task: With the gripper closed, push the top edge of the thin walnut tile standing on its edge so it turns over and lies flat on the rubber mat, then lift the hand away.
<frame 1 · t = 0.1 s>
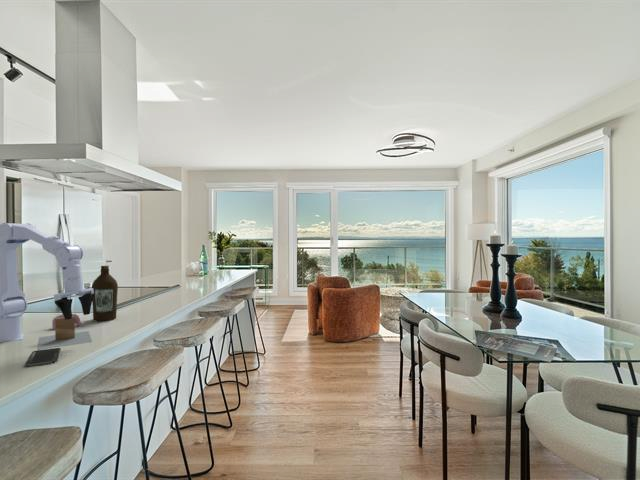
hand: (77, 316, 132), 11 cm above the counter, tool pointing down, fingers open, 7 cm apart
walnut tile: (65, 338, 139), on the counter, touching rubber mat
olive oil: (104, 319, 173), on the counter
video game controller: (66, 328, 157), on the counter
phone: (44, 359, 120), on the counter
rubber mat: (65, 340, 139), on the counter
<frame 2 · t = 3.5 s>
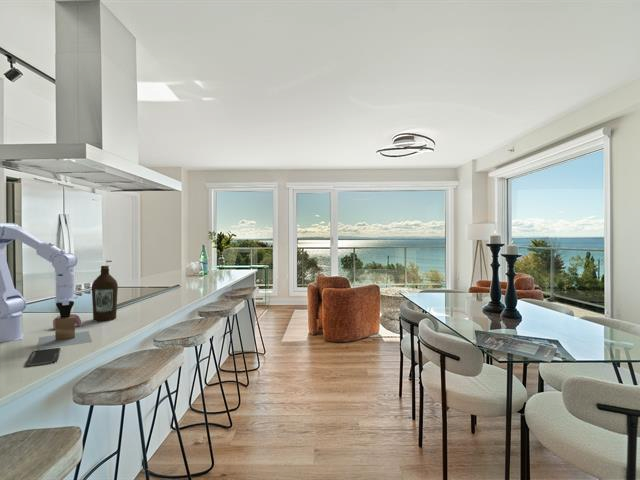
hand: (65, 321, 140), 7 cm above the counter, tool pointing down, fingers closed
walnut tile: (65, 338, 139), on the counter, tilted 6°, touching gripper, rubber mat
everything else where it was.
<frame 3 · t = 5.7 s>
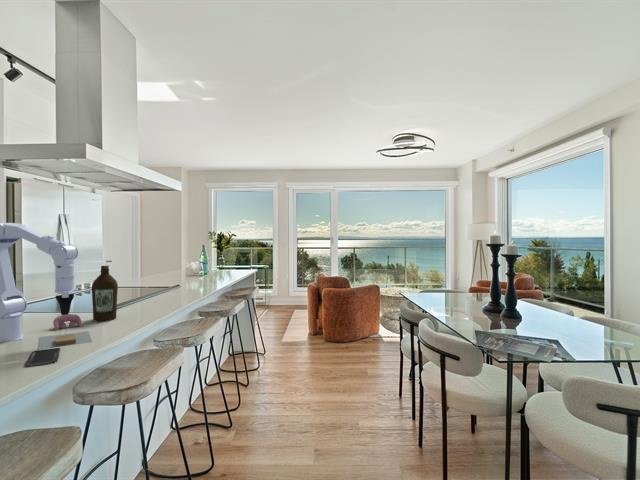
hand: (64, 314, 136), 10 cm above the counter, tool pointing down, fingers closed
walnut tile: (65, 337, 139), point 1 cm above the counter, tilted 90°, touching rubber mat
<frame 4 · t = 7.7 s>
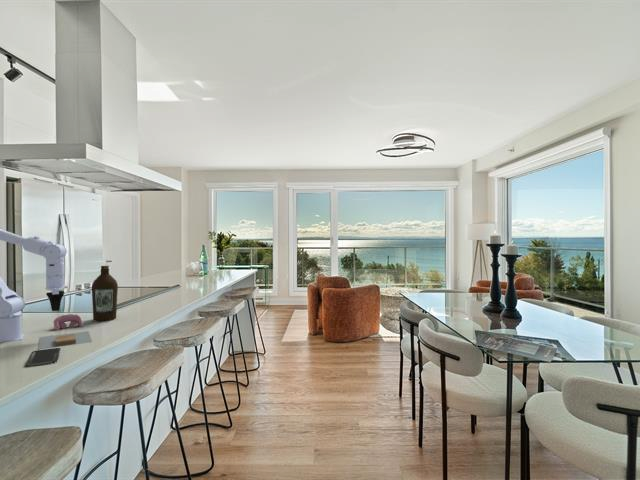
hand: (55, 310, 142), 10 cm above the counter, tool pointing down, fingers closed
at the end: walnut tile tilted 90°; walnut tile inside the target area on the rubber mat (1.6 cm from its centre), point 1.1 cm above the rubber mat's base; walnut tile touching rubber mat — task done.
